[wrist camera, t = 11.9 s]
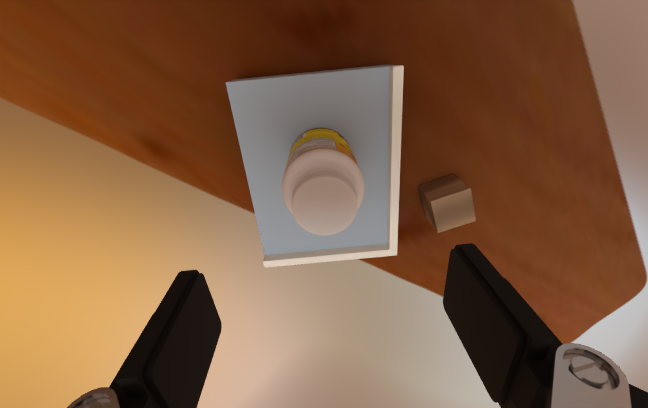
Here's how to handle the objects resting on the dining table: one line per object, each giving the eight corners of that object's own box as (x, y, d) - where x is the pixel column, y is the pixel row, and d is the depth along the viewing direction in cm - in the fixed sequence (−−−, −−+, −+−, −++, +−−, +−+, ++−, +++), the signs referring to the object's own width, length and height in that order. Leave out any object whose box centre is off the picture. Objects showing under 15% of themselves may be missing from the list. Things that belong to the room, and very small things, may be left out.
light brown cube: (417, 185, 32) (430, 201, 29) (452, 173, 32) (470, 188, 28) (424, 214, 34) (437, 232, 30) (458, 203, 33) (475, 220, 30)
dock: (237, 79, 26) (221, 83, 22) (388, 64, 26) (403, 65, 22) (270, 240, 35) (264, 267, 30) (386, 229, 35) (396, 255, 30)
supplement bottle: (351, 183, 27) (370, 245, 18) (293, 186, 27) (282, 250, 18) (351, 123, 25) (373, 160, 16) (286, 126, 25) (271, 165, 16)
